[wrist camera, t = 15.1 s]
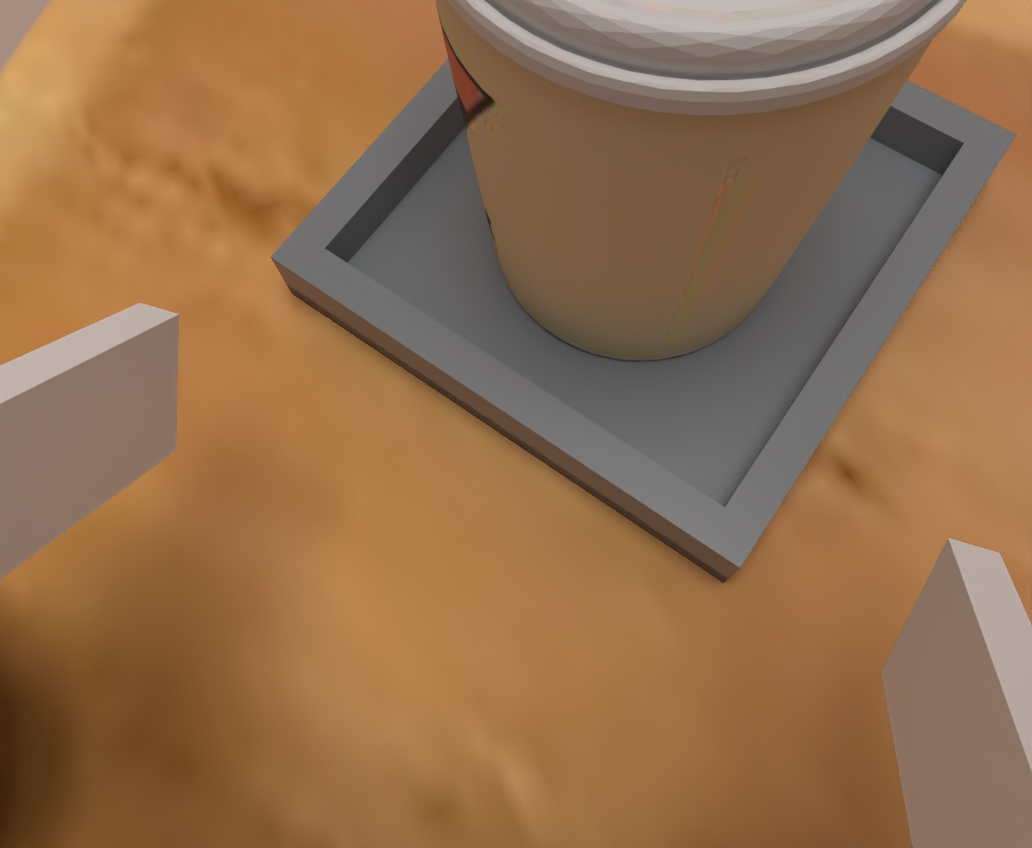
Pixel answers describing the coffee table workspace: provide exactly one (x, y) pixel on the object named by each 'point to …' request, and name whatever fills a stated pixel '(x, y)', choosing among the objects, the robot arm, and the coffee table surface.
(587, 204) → the coffee cup
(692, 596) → the coffee table surface
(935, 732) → the robot arm
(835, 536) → the coffee table surface
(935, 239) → the tray
